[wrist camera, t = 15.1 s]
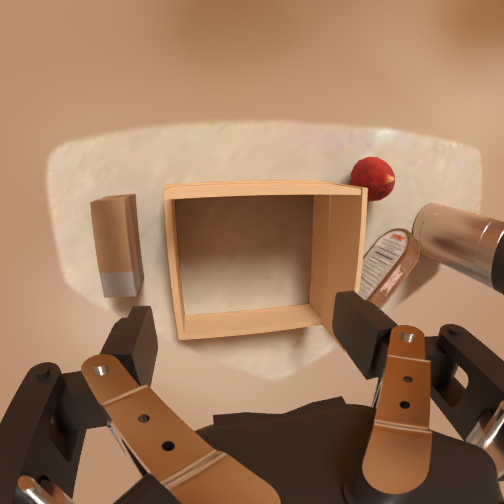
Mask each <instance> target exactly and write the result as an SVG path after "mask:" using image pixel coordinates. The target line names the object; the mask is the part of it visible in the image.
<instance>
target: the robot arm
mask: <svg viewBox="0 0 504 504" xmlns="http://www.w3.org/2000/svg"><path fill="white" fill-rule="evenodd" d="M413 237H414V238H415V239H416V240H417V241H418V242H419V245H420V253H421V254H423V255H425V256H427V257H429V258H431V259H433V260H435V261H437V262H440V263H442V264H444V265H446V266H448V267H450V268H452V269H454V270H457V271H458V272H460V273H463V274H465V275H467V276H469V277H471V278H473V279H475V280H477V281H479V282H481V283H483V284H485V285H487V286H489V287H491V288H493V289H494V290H496V291H498V292H500V293H502V294H503V295H504V222H502V221H498V220H495V219H491V218H488V217H485V216H481V215H477V214H474V213H470V212H466V211H463V210H459V209H455V208H451V207H447V206H443V205H439V204H433V203H432V204H428V205H426V206H425V207H424V208H423V209H422V210H421V211H420V212H419V214H418V215H417V218H416V220H415V223H414V227H413ZM332 330H333V333H334V336H335V337H336V339H337V340H338V341H339V343H340V344H341V345H342V347H343V348H344V350H345V351H346V352H347V354H348V355H349V356H350V358H351V359H352V360H353V362H354V363H355V365H356V366H357V367H358V369H359V370H360V371H361V373H362V374H363V376H364V377H365V378H366V379H367V380H368V379H372V378H375V377H378V378H379V380H378V383H377V386H376V391H375V394H374V398H373V402H372V406H371V407H368V406H364V405H356V404H346V403H345V401H344V399H343V398H342V396H340V397H336V398H331V399H327V400H322V401H317V402H312V403H310V404H307V405H305V406H302V407H300V408H297V409H295V410H292V411H290V412H287V413H284V414H265V413H249V412H244V413H234V414H222V415H213V421H214V424H213V425H209V426H206V427H203V428H201V429H199V430H196V431H193V430H192V429H191V428H190V427H189V426H188V425H187V424H186V423H184V422H183V421H182V420H181V419H180V418H179V417H178V416H177V415H176V414H175V413H174V412H173V411H172V410H171V409H170V408H169V407H168V406H167V405H166V404H165V403H164V402H163V401H162V400H161V399H160V398H159V397H158V396H157V395H156V394H155V392H153V390H152V389H151V388H150V386H151V381H152V375H153V371H154V366H155V361H156V356H157V351H158V342H157V335H156V330H155V325H154V319H153V314H152V309H151V307H150V306H133V307H132V309H131V311H130V314H129V316H128V318H121V319H120V320H119V321H118V322H116V323H115V324H114V326H113V328H112V330H111V332H110V334H109V336H108V338H107V340H106V342H105V344H104V346H103V348H102V350H101V353H100V354H99V355H95V356H92V357H90V358H88V359H87V360H86V361H85V362H84V363H83V364H82V366H81V371H77V372H72V373H64V374H62V373H61V371H60V368H59V367H58V366H57V365H56V364H54V363H50V362H45V363H40V364H38V365H36V366H34V367H32V368H31V369H30V370H29V371H28V373H27V375H26V376H25V378H24V380H23V381H22V384H21V385H20V387H19V389H18V390H17V392H16V394H15V396H14V398H13V399H12V401H11V403H10V405H9V407H8V409H7V411H6V413H5V415H4V417H3V419H2V421H1V423H0V504H76V503H75V502H74V501H73V500H72V498H73V492H74V486H75V480H76V475H77V470H78V465H79V460H80V455H81V451H82V447H83V442H84V438H85V434H86V429H90V428H96V427H103V426H106V427H107V428H108V430H109V431H110V433H111V435H112V436H113V438H114V439H115V441H116V442H117V443H118V445H119V446H120V448H121V449H122V451H123V452H124V454H125V455H126V456H127V457H128V459H129V461H130V462H131V464H132V465H133V467H134V468H135V470H136V471H137V472H138V474H139V475H140V476H141V479H140V480H139V481H138V482H137V483H136V484H135V485H134V486H132V487H131V488H130V489H129V490H128V491H127V492H126V493H125V494H123V495H122V496H121V497H120V498H119V499H118V500H116V501H115V502H114V503H113V504H504V498H503V496H502V493H501V490H500V486H499V481H504V361H503V360H502V359H500V358H499V357H498V356H497V355H496V354H495V353H494V352H492V351H491V350H490V349H489V348H488V347H487V346H485V345H484V344H483V343H482V342H481V341H479V340H478V339H477V338H476V337H474V336H473V335H472V334H471V333H470V332H468V331H467V330H466V329H464V328H463V327H461V326H458V325H454V324H446V325H443V326H442V327H441V328H440V331H439V335H438V336H433V337H425V336H424V333H423V332H422V331H421V330H419V329H418V328H415V327H413V326H409V325H400V326H398V325H397V324H396V323H395V322H394V321H393V320H392V319H390V318H389V317H388V316H387V315H386V314H385V313H384V312H383V311H382V310H380V309H379V308H378V307H377V306H376V305H375V304H374V303H371V302H369V301H367V300H365V299H363V298H362V297H360V296H359V295H358V294H357V293H356V292H355V291H353V290H352V291H344V292H337V294H336V296H335V303H334V312H333V320H332ZM458 366H460V367H461V368H462V369H463V370H464V371H465V372H466V373H467V375H468V379H469V382H468V386H467V388H466V389H465V388H464V387H463V386H462V385H461V384H460V383H459V381H458V380H457V379H456V378H455V377H454V375H455V373H456V371H457V368H458ZM430 397H431V398H432V400H433V401H434V402H435V404H436V405H437V406H438V407H439V409H440V410H441V411H442V412H443V414H444V415H445V416H446V418H447V419H448V420H449V422H450V423H451V424H452V426H453V427H454V428H455V430H456V431H457V432H458V433H459V435H460V436H461V438H462V439H463V440H464V441H461V440H458V439H455V438H452V437H449V436H446V435H443V434H440V433H438V432H435V431H432V430H430V429H429V419H430Z"/></svg>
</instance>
